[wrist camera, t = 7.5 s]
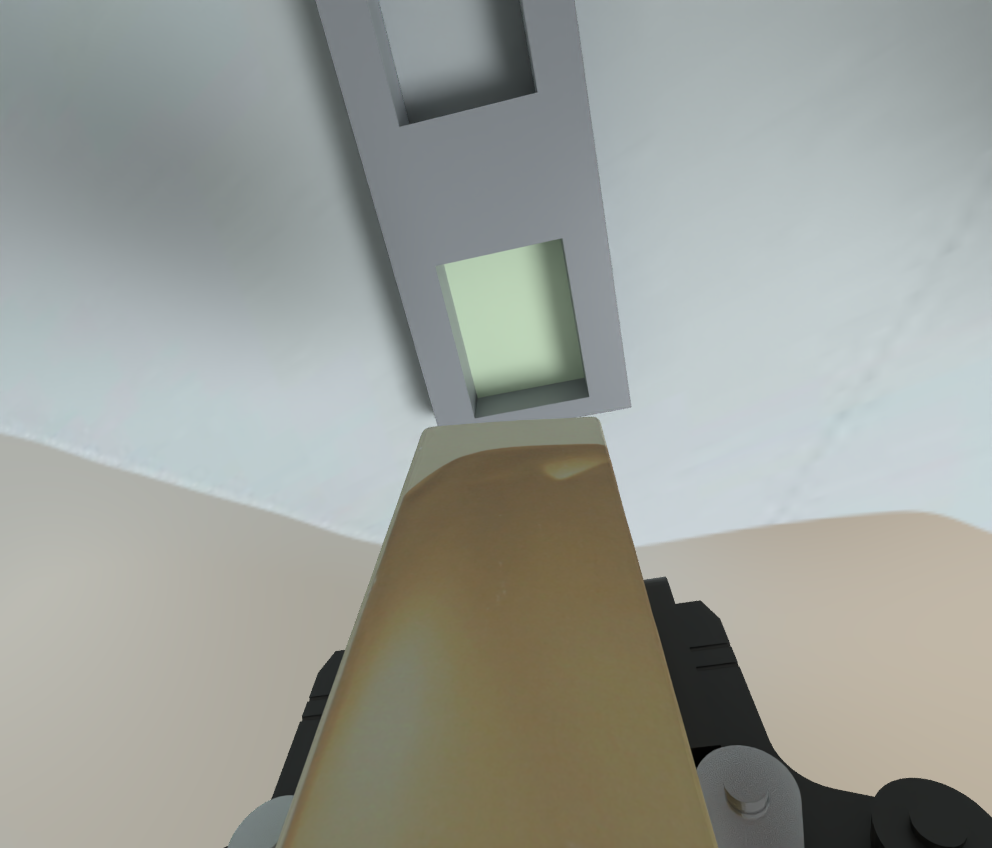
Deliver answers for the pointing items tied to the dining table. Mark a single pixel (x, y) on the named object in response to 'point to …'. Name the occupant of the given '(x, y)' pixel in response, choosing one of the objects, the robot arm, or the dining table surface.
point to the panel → (492, 226)
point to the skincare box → (503, 665)
